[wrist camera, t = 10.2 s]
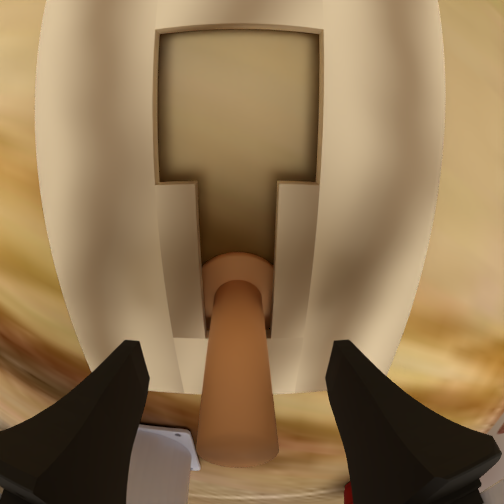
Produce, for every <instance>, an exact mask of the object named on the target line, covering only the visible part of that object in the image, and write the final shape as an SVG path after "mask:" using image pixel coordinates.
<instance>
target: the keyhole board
mask: <svg viewBox="0 0 504 504" xmlns="http://www.w3.org/2000/svg"><path fill="white" fill-rule="evenodd" d="M211 29H268V30H284V31H296V32H306V33H314V34H319V56H320V73H319V124H318V149H317V168H316V182H305V181H277V198H276V223H275V246H274V267H273V286H272V305H271V322H270V330H266V339H267V348H268V356H269V365H270V374H271V383H272V392H273V394H290V393H305V392H317V391H327V386H326V380H325V376H326V372H327V368H328V364H329V360H330V355H331V351H332V347H333V342H334V341H335V340H347V339H349V340H350V341H351V342H352V343H353V344H354V345H355V346H356V347H357V348H358V349H359V350H360V351H361V352H362V353H363V354H364V355H365V356H366V357H367V358H368V359H369V360H370V361H371V362H372V363H373V364H374V365H375V366H376V367H377V368H378V369H379V370H380V371H381V372H382V373H383V374H385V375H386V376H387V373H388V371H389V369H390V366H391V364H392V361H393V359H394V356H395V354H396V351H397V348H398V346H399V343H400V340H401V337H402V335H403V332H404V329H405V326H406V323H407V320H408V317H409V314H410V311H411V308H412V305H413V301H414V298H415V295H416V291H417V288H418V284H419V281H420V277H421V273H422V269H423V265H424V261H425V257H426V253H427V249H428V244H429V240H430V235H431V230H432V225H433V220H434V214H435V209H436V203H437V196H438V190H439V182H440V174H441V166H442V156H443V144H444V129H445V61H444V47H443V36H442V27H441V19H440V12H439V5H438V0H46V4H45V9H44V15H43V20H42V26H41V32H40V39H39V47H38V57H37V68H36V83H35V139H36V155H37V167H38V177H39V185H40V193H41V200H42V206H43V212H44V218H45V224H46V229H47V234H48V239H49V243H50V248H51V252H52V257H53V261H54V265H55V269H56V272H57V276H58V280H59V283H60V287H61V290H62V294H63V297H64V300H65V303H66V306H67V309H68V312H69V315H70V318H71V321H72V324H73V327H74V330H75V332H76V335H77V338H78V340H79V343H80V346H81V348H82V351H83V353H84V355H85V358H86V360H87V363H88V365H89V367H90V370H91V372H93V371H94V370H95V369H96V368H97V367H98V366H99V365H100V364H101V363H102V362H103V361H104V360H105V359H106V358H107V357H108V356H109V355H110V354H111V353H112V352H113V351H114V350H115V349H116V348H117V347H118V346H119V345H120V344H121V343H122V342H123V341H124V340H135V341H140V345H141V348H142V352H143V356H144V359H145V363H146V366H147V370H148V373H149V376H150V381H149V387H148V391H158V392H170V393H185V394H202V387H203V379H204V371H205V362H206V354H207V347H208V339H209V331H210V330H206V319H205V307H204V294H203V281H202V266H201V250H200V231H199V209H198V181H173V182H159V162H158V127H157V89H158V56H159V37H160V34H165V33H173V32H183V31H194V30H211Z"/></svg>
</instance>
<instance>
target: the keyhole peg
mask: <svg viewBox="0 0 504 504" xmlns="http://www.w3.org/2000/svg"><path fill="white" fill-rule="evenodd" d="M273 267H274V266H273V265H272V264H271V263H269V262H268V261H267V260H265V259H263V258H262V257H260V256H257V255H255V254H251V253H246V252H229V253H225V254H221V255H218V256H216V257H214V258H212V259H210V260H209V261H208V262H206V263H205V264H204V265H203V266H202V281H203V294H204V307H205V319H206V327H207V328H208V329H210V331H209V339H208V347H207V354H206V362H205V371H204V379H203V387H202V396H201V405H200V414H199V424H198V433H197V443H196V451H197V453H198V455H199V456H200V457H201V458H203V459H204V460H206V461H208V462H210V463H212V464H216V465H219V466H224V467H234V468H243V467H252V466H257V465H261V464H264V463H266V462H268V461H270V460H272V459H273V458H275V457H276V455H277V454H278V452H279V446H278V437H277V428H276V419H275V410H274V401H273V392H272V383H271V374H270V365H269V356H268V348H267V339H266V330H267V329H268V328H270V322H271V305H272V286H273Z"/></svg>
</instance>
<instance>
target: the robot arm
mask: <svg viewBox="0 0 504 504" xmlns="http://www.w3.org/2000/svg"><path fill="white" fill-rule="evenodd" d="M325 380H326V386H327V392H328V397H329V401H330V405H331V408H332V411H333V414H334V417H335V420H336V423H337V426H338V429H339V433H340V436H341V439H342V442H343V445H344V449H345V453H346V457H347V463H348V469H349V474H350V481H351V489H352V497H353V504H504V478H503V479H501V480H500V481H498V482H497V483H495V484H494V485H492V486H490V487H489V488H487V489H486V490H484V491H483V492H481V493H479V490H478V488H479V487H480V486H481V482H480V480H479V478H480V477H481V476H482V475H484V474H485V473H486V472H487V471H488V470H489V469H490V468H492V467H493V466H494V465H495V464H496V463H497V462H498V460H499V459H500V457H501V455H502V453H501V451H500V449H499V447H498V445H497V444H496V442H495V440H494V438H493V437H492V436H490V435H487V434H484V433H480V432H477V431H474V430H471V429H469V428H466V427H464V426H461V425H459V424H457V423H455V422H452V421H450V420H448V419H446V418H444V417H443V416H441V415H439V414H437V413H435V412H434V411H432V410H430V409H429V408H427V407H425V406H424V405H422V404H421V403H420V402H418V401H417V400H415V399H414V398H412V397H411V396H410V395H408V394H407V393H406V392H404V391H403V390H402V389H401V388H400V387H398V386H397V385H396V384H395V383H394V382H392V381H391V380H390V379H389V378H388V377H387V376H386V375H385V374H383V373H382V372H381V371H380V370H379V369H378V368H377V367H376V366H375V365H374V364H373V363H372V362H371V361H370V360H369V359H368V358H367V357H366V356H365V355H364V354H363V353H362V352H361V351H360V350H359V349H358V348H357V347H356V346H355V345H354V344H353V343H352V342H351V341H350V340H349V339H347V340H335V341H334V342H333V347H332V351H331V355H330V360H329V364H328V368H327V372H326V376H325ZM149 381H150V376H149V373H148V370H147V366H146V363H145V359H144V356H143V352H142V348H141V345H140V341H135V340H124V341H123V342H122V343H121V344H120V345H119V346H118V347H117V348H116V349H115V350H114V351H113V352H112V353H111V354H110V355H109V356H108V357H107V358H106V359H105V360H104V361H103V362H102V363H101V364H100V365H99V366H98V367H97V368H96V369H95V370H94V371H93V372H92V373H91V374H90V375H89V376H88V377H86V378H85V379H84V380H83V381H82V382H81V383H80V384H79V385H77V386H76V387H75V388H74V389H73V390H72V391H70V392H69V393H68V394H67V395H65V396H64V397H63V398H61V399H60V400H59V401H57V402H56V403H55V404H53V405H52V406H50V407H49V408H47V409H45V410H44V411H42V412H40V413H39V414H37V415H35V416H34V417H32V418H30V419H28V420H26V421H24V422H22V423H20V424H18V425H16V426H13V427H11V428H9V429H6V430H3V431H0V486H1V487H2V488H3V492H2V493H0V504H187V503H188V491H189V480H190V470H194V471H198V470H200V469H201V466H200V463H199V460H198V456H197V453H196V450H195V446H194V443H193V439H192V436H191V432H190V431H188V430H186V429H177V428H166V427H157V426H149V425H141V424H140V420H141V417H142V413H143V410H144V407H145V403H146V399H147V393H148V387H149Z"/></svg>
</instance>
